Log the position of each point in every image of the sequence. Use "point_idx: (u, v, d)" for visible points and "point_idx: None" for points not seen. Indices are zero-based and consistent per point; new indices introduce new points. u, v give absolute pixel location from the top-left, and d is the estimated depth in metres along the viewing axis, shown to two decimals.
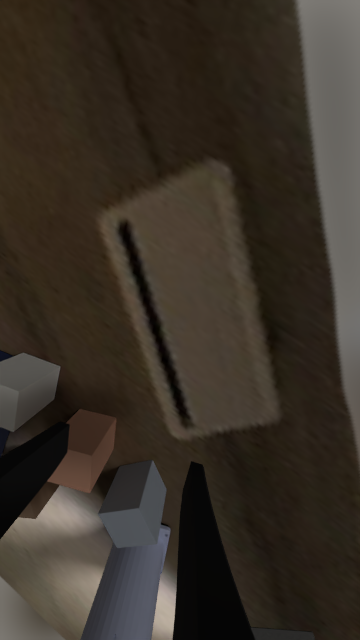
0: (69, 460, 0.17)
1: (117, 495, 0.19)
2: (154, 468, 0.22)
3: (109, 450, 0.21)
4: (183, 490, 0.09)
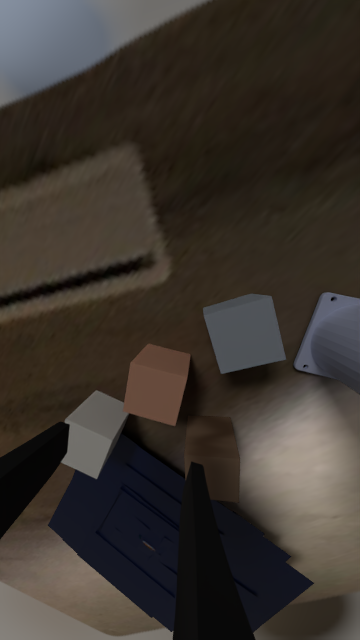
0: (141, 390, 0.15)
1: None
2: (212, 305, 0.17)
3: (179, 356, 0.18)
4: (183, 490, 0.09)
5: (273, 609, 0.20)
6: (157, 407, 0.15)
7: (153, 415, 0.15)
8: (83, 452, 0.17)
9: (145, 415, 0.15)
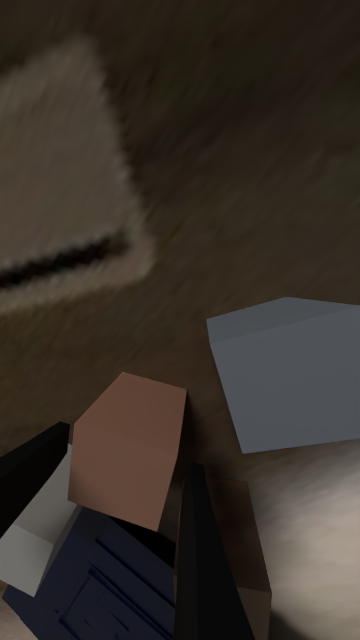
0: (96, 471, 0.08)
1: None
2: (220, 316, 0.11)
3: (168, 395, 0.11)
4: (183, 490, 0.09)
5: None
6: (125, 499, 0.08)
7: (118, 511, 0.09)
8: (11, 556, 0.10)
9: (105, 510, 0.09)
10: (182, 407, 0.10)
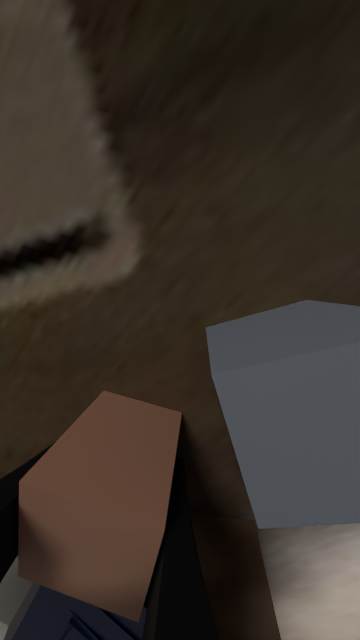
0: (53, 543, 0.06)
1: None
2: (224, 324, 0.08)
3: (157, 423, 0.09)
4: None
5: None
6: (94, 581, 0.06)
7: (85, 595, 0.06)
8: None
9: (68, 591, 0.06)
10: (175, 442, 0.08)
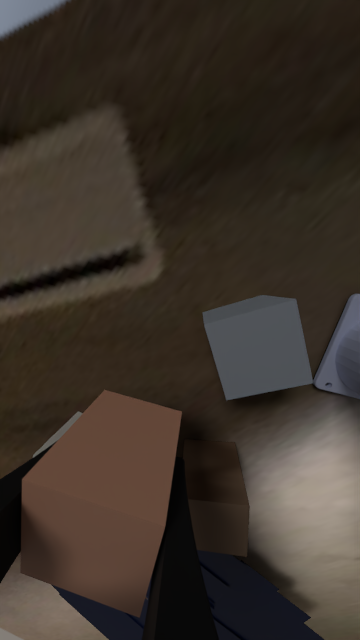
0: (55, 539, 0.06)
1: None
2: (213, 309, 0.14)
3: (157, 422, 0.09)
4: None
5: None
6: (95, 577, 0.06)
7: (87, 590, 0.06)
8: None
9: (70, 587, 0.06)
10: (175, 440, 0.08)
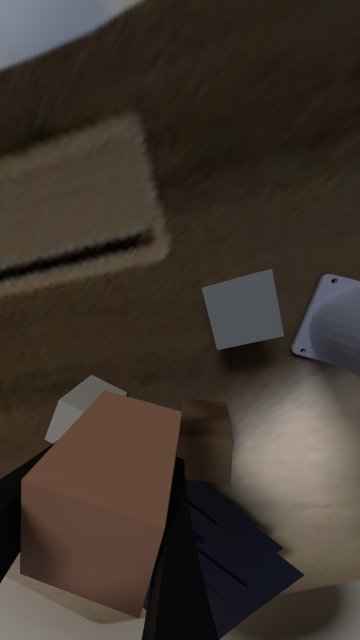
0: (55, 540, 0.06)
1: (211, 327, 0.14)
2: None
3: (157, 422, 0.09)
4: None
5: (262, 600, 0.20)
6: (95, 578, 0.06)
7: (87, 591, 0.06)
8: None
9: (70, 588, 0.06)
10: (175, 440, 0.08)
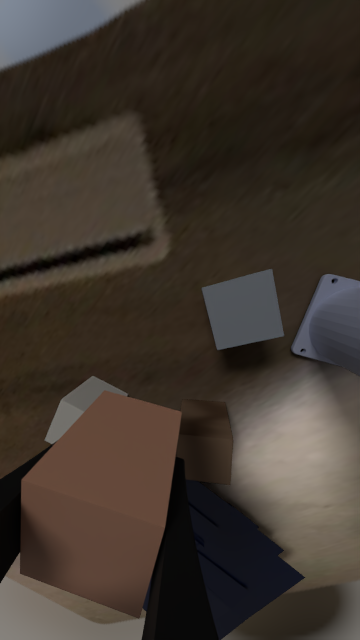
0: (55, 540, 0.06)
1: None
2: None
3: (157, 422, 0.09)
4: None
5: (262, 602, 0.20)
6: (95, 578, 0.06)
7: (87, 591, 0.06)
8: None
9: (70, 588, 0.06)
10: (175, 440, 0.08)
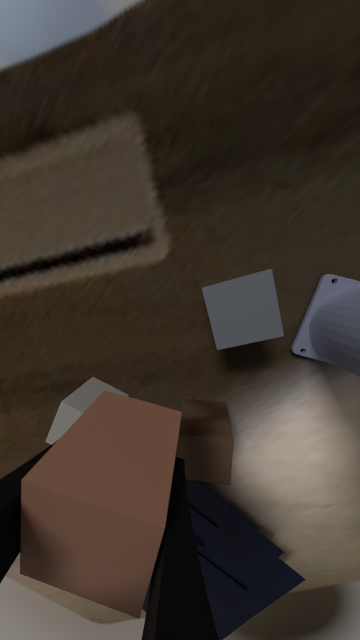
0: (55, 540, 0.06)
1: (211, 327, 0.14)
2: None
3: (157, 422, 0.09)
4: None
5: (262, 603, 0.20)
6: (95, 578, 0.06)
7: (87, 591, 0.06)
8: None
9: (70, 588, 0.06)
10: (175, 440, 0.08)
